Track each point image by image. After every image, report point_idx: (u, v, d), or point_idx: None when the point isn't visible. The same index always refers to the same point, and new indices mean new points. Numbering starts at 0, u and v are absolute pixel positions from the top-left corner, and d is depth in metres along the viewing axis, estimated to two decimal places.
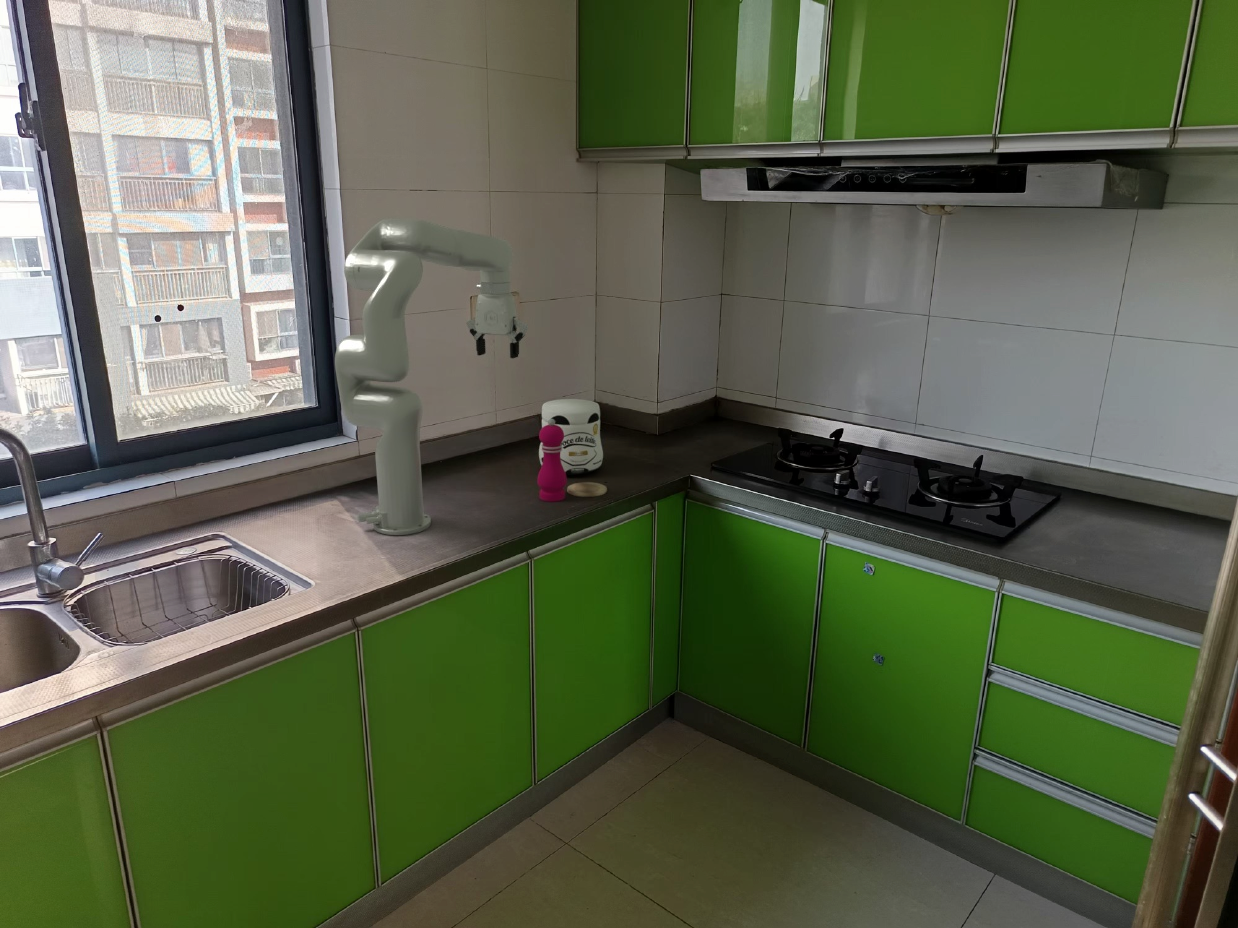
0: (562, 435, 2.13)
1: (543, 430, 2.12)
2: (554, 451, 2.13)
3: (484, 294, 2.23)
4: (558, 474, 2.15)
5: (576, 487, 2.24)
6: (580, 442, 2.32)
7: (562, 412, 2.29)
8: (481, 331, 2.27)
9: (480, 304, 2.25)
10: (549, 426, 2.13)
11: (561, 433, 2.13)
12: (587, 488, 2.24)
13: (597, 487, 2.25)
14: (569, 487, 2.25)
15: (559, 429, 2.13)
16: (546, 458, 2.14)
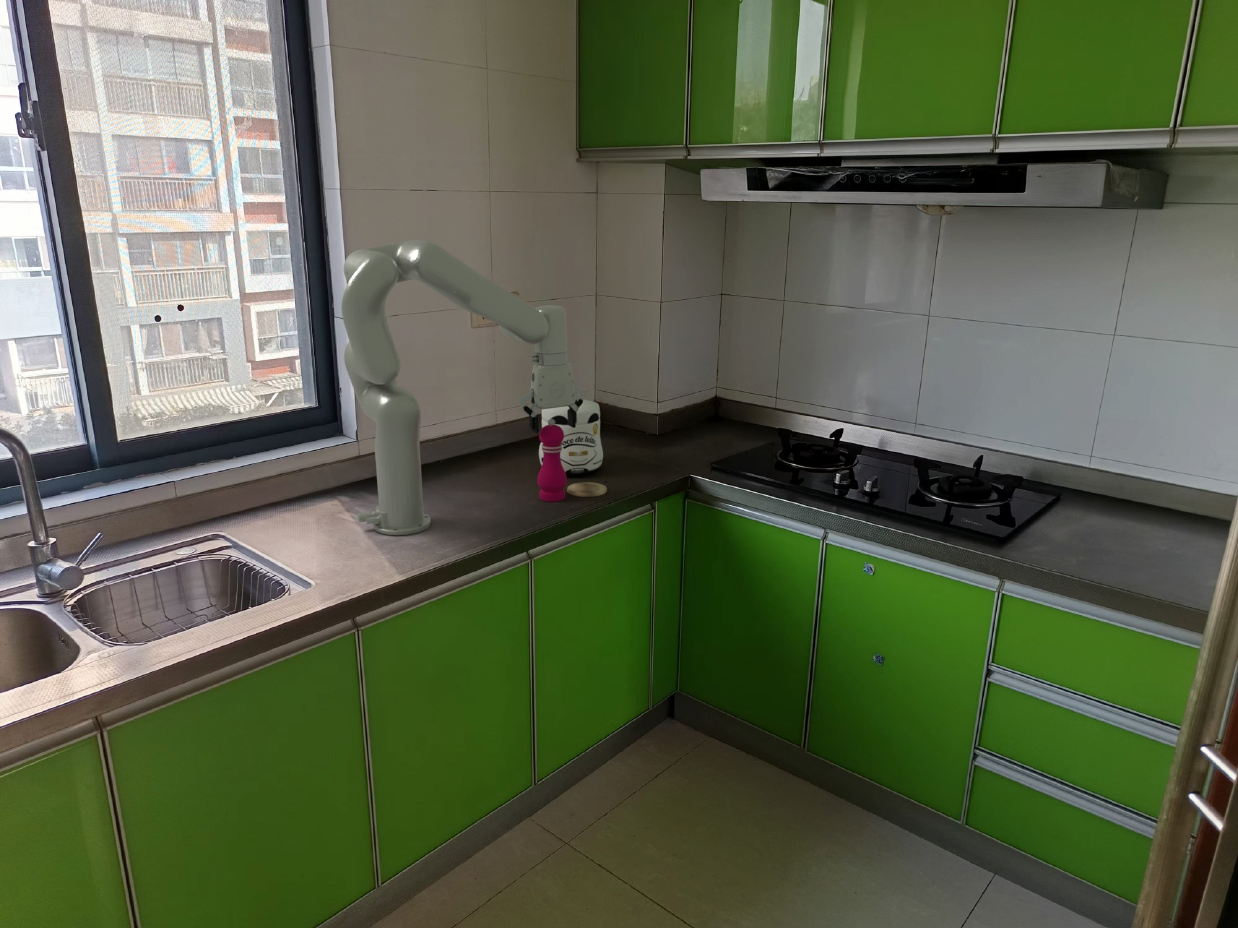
0: (562, 435, 2.13)
1: (543, 430, 2.12)
2: (554, 451, 2.13)
3: (552, 366, 2.06)
4: (558, 474, 2.15)
5: (576, 487, 2.24)
6: (580, 442, 2.32)
7: (562, 412, 2.29)
8: (546, 406, 2.08)
9: (544, 377, 2.06)
10: (549, 426, 2.13)
11: (561, 433, 2.13)
12: (587, 488, 2.24)
13: (597, 487, 2.25)
14: (569, 487, 2.25)
15: (559, 429, 2.13)
16: (546, 458, 2.14)
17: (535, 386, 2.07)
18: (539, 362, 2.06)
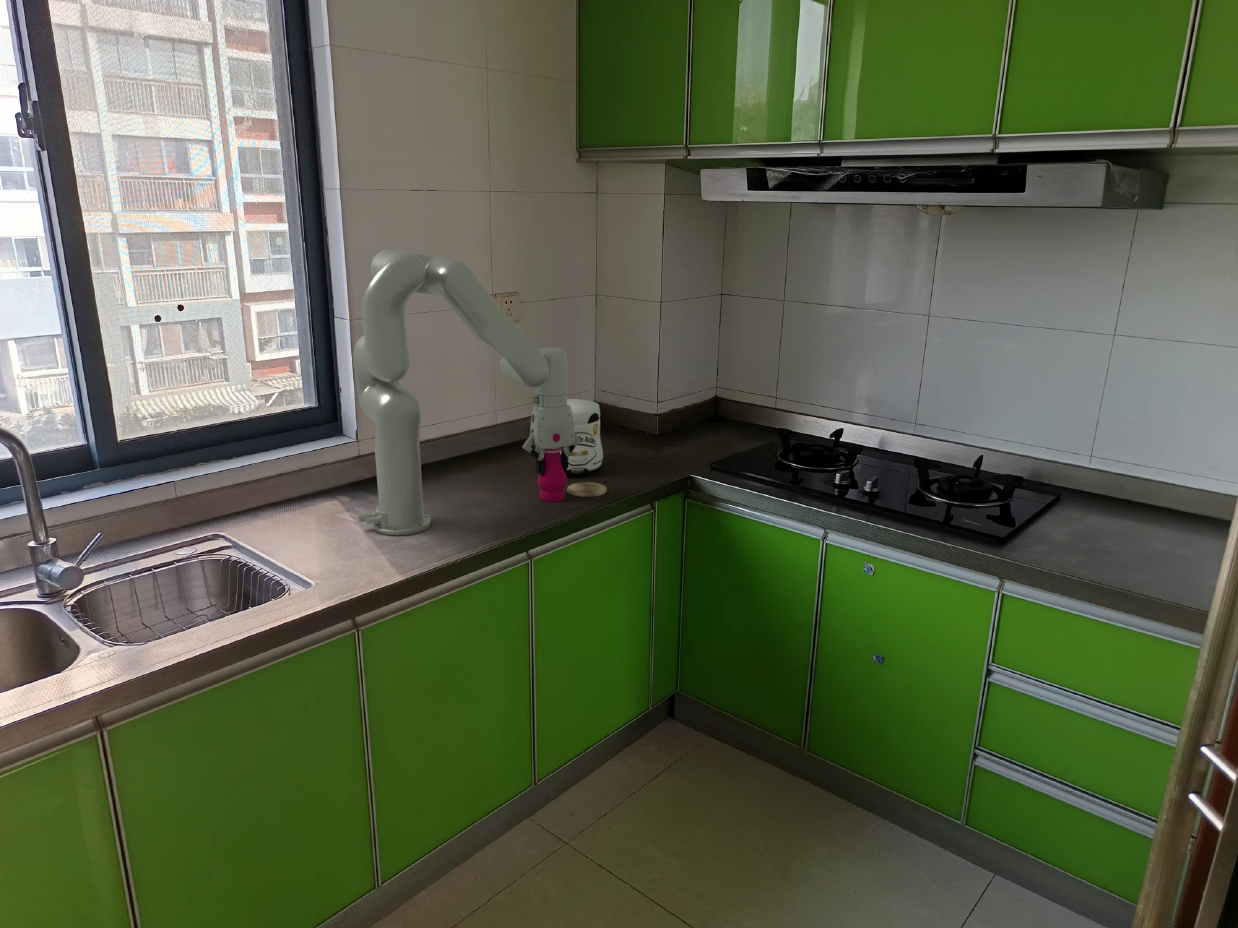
0: None
1: None
2: (554, 451, 2.13)
3: (552, 408, 2.09)
4: (558, 474, 2.15)
5: (576, 487, 2.24)
6: (580, 442, 2.32)
7: None
8: (545, 447, 2.11)
9: (544, 419, 2.09)
10: None
11: None
12: (587, 488, 2.24)
13: (597, 487, 2.25)
14: (569, 487, 2.25)
15: None
16: (547, 458, 2.14)
17: (535, 427, 2.10)
18: (539, 404, 2.09)
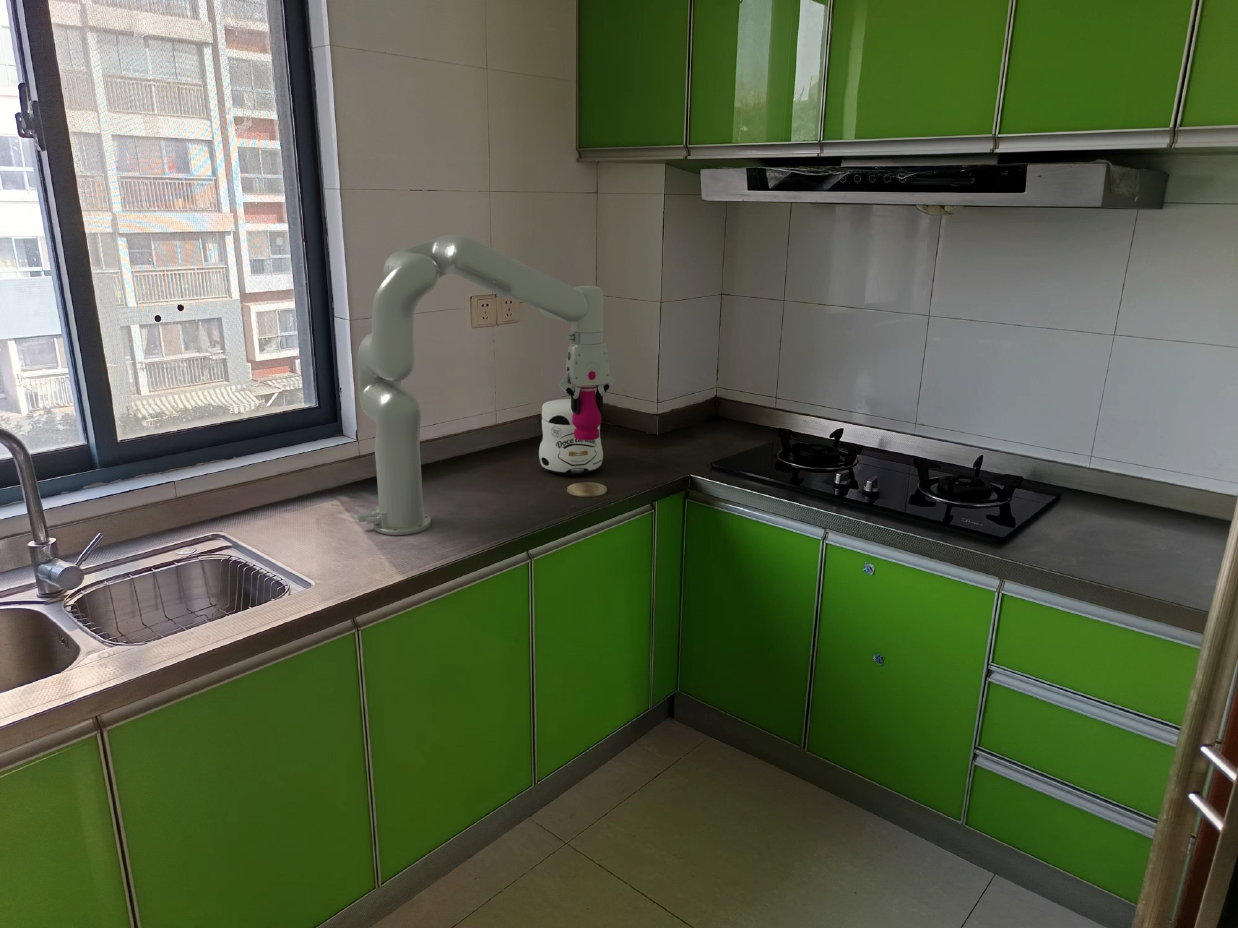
0: None
1: None
2: (589, 389, 2.14)
3: (588, 345, 2.10)
4: (593, 413, 2.16)
5: (576, 487, 2.24)
6: (580, 442, 2.32)
7: (562, 412, 2.29)
8: (581, 384, 2.12)
9: (580, 356, 2.11)
10: None
11: None
12: (587, 488, 2.24)
13: (597, 487, 2.25)
14: (569, 487, 2.25)
15: None
16: (582, 397, 2.16)
17: (571, 364, 2.11)
18: (575, 341, 2.10)
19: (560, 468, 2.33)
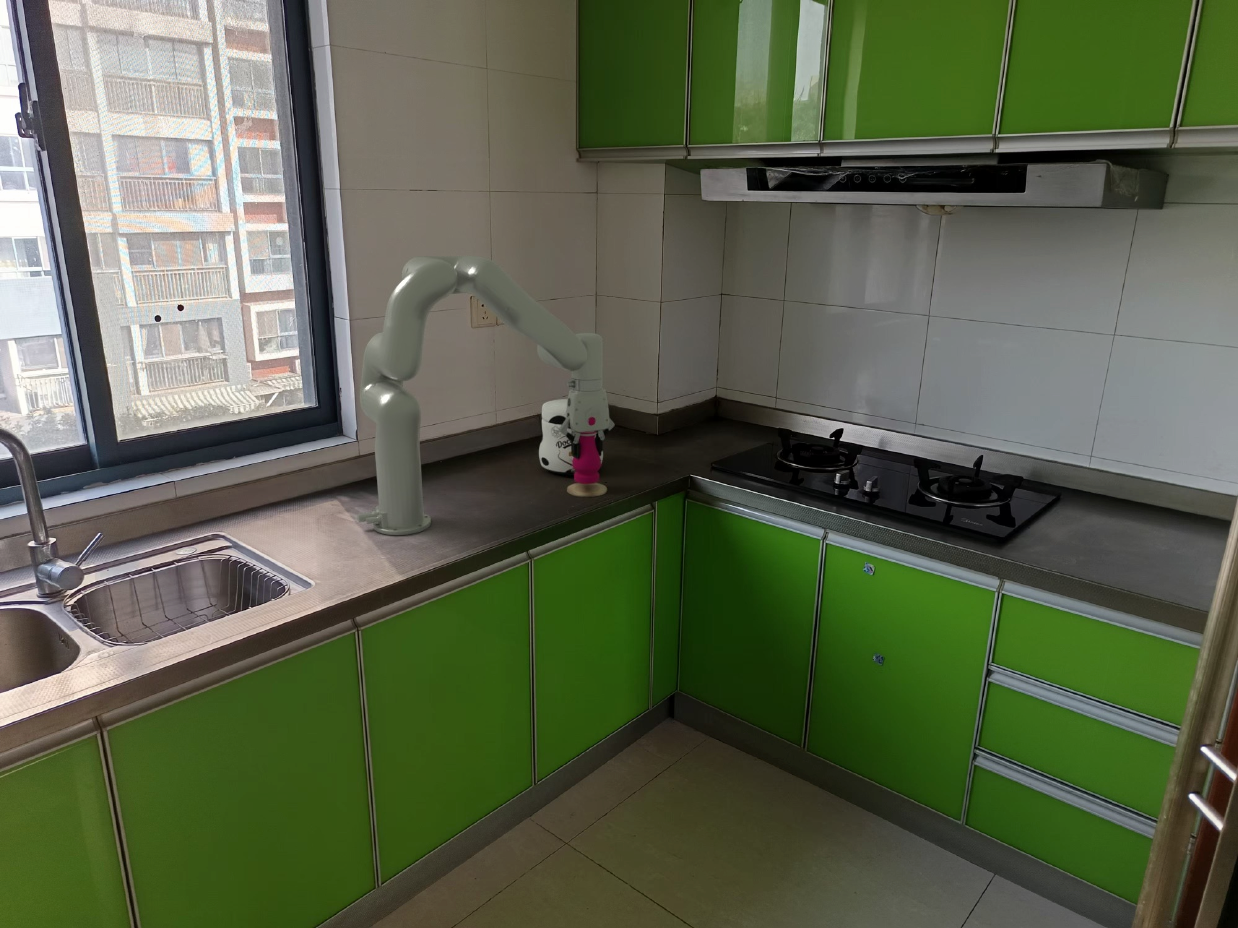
0: None
1: None
2: (589, 434, 2.18)
3: (588, 392, 2.13)
4: (593, 457, 2.19)
5: (576, 487, 2.24)
6: None
7: (562, 412, 2.29)
8: (581, 430, 2.16)
9: (580, 403, 2.14)
10: None
11: None
12: (587, 488, 2.24)
13: (597, 487, 2.25)
14: (569, 487, 2.25)
15: None
16: (582, 442, 2.19)
17: (571, 411, 2.14)
18: (575, 388, 2.14)
19: (560, 468, 2.33)
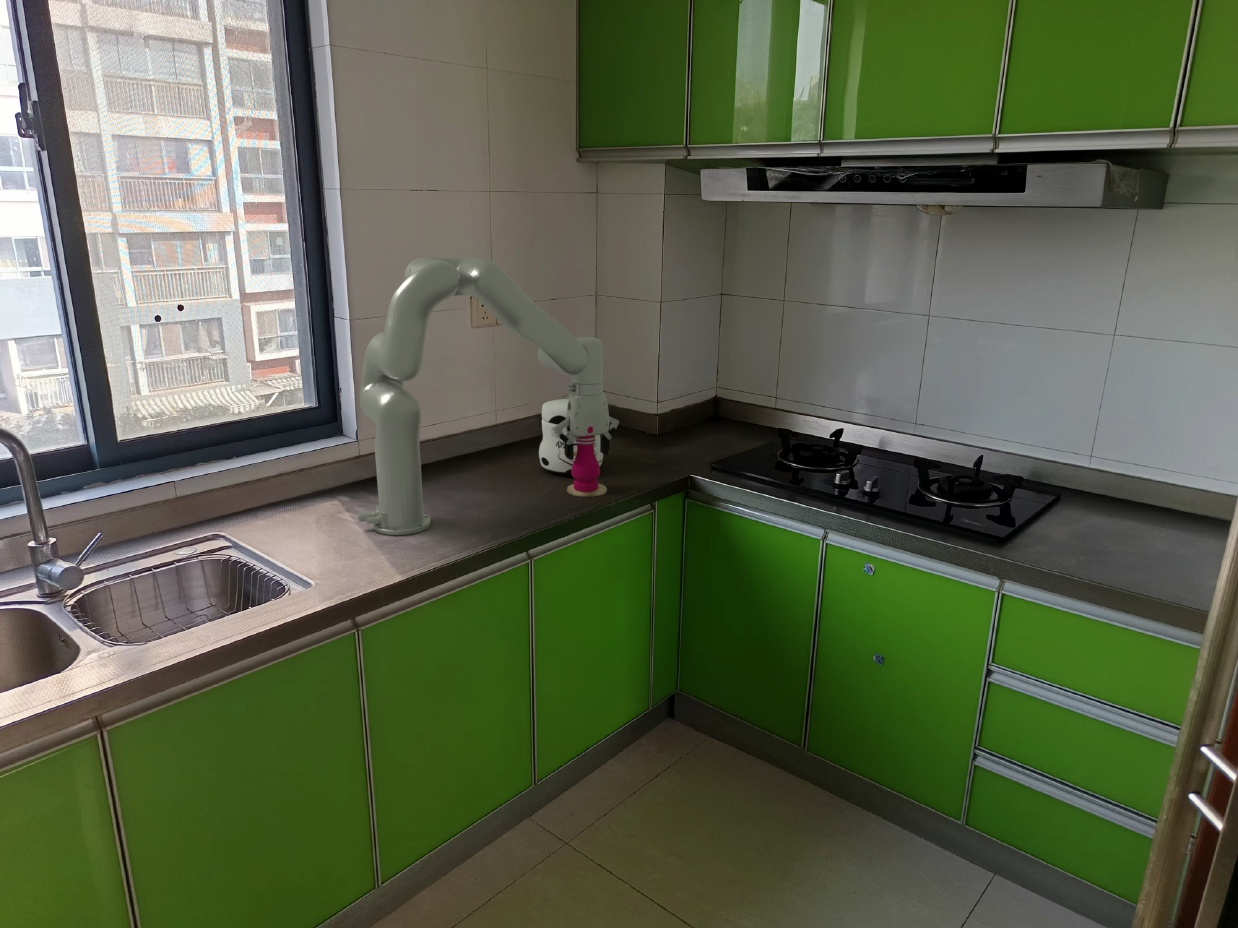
0: None
1: None
2: (588, 442, 2.18)
3: (588, 396, 2.13)
4: (592, 465, 2.20)
5: None
6: None
7: (562, 412, 2.29)
8: (581, 434, 2.16)
9: (580, 407, 2.14)
10: None
11: None
12: None
13: None
14: (569, 487, 2.25)
15: None
16: (580, 450, 2.19)
17: (571, 415, 2.15)
18: (576, 392, 2.14)
19: (560, 468, 2.33)
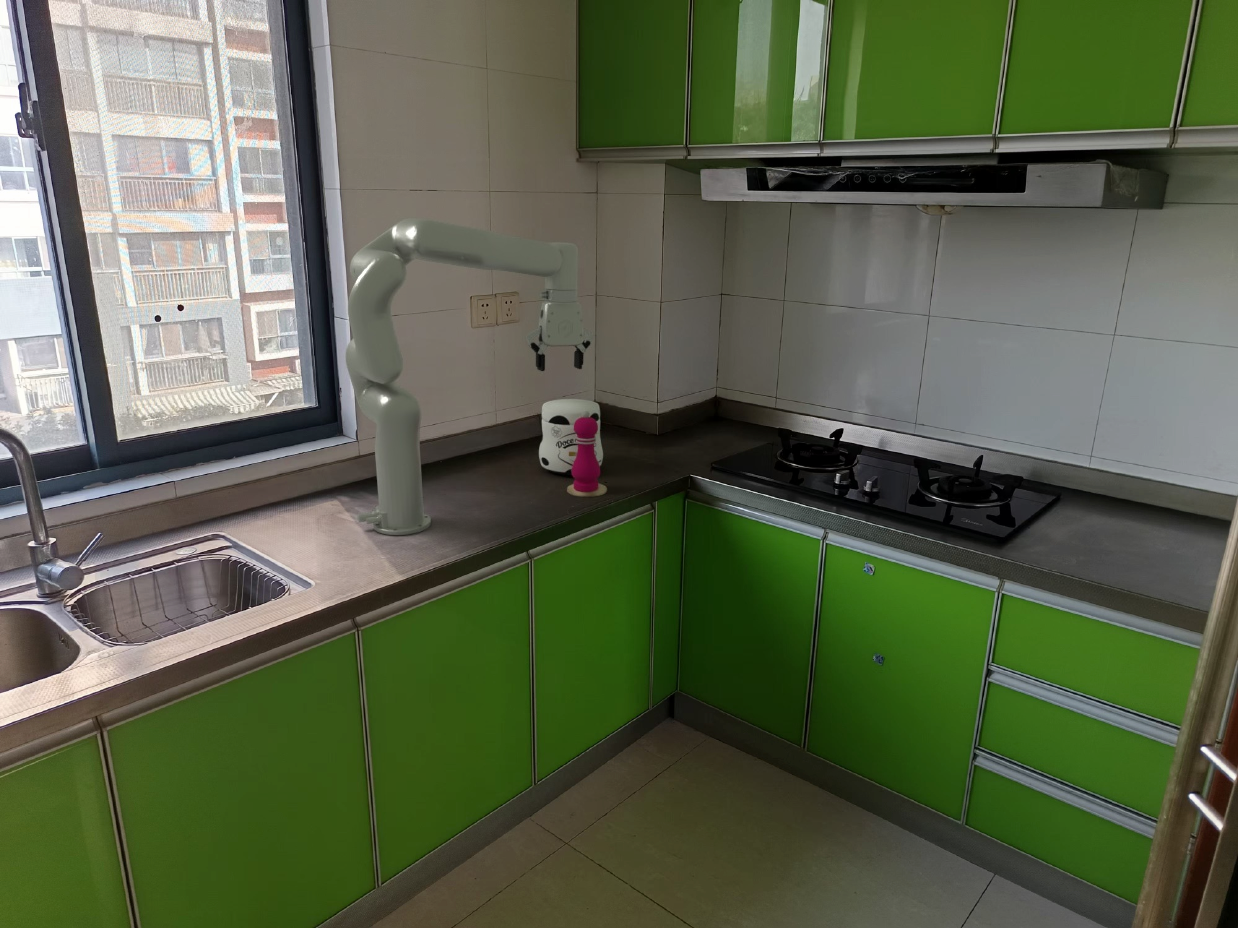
0: (596, 427, 2.18)
1: (578, 422, 2.17)
2: (588, 442, 2.18)
3: (561, 303, 2.04)
4: (592, 465, 2.20)
5: None
6: None
7: (562, 412, 2.29)
8: (553, 344, 2.07)
9: (553, 314, 2.05)
10: (583, 418, 2.18)
11: (595, 425, 2.18)
12: None
13: None
14: (569, 487, 2.25)
15: (593, 421, 2.18)
16: (581, 450, 2.19)
17: (543, 322, 2.06)
18: (548, 298, 2.05)
19: (560, 468, 2.33)
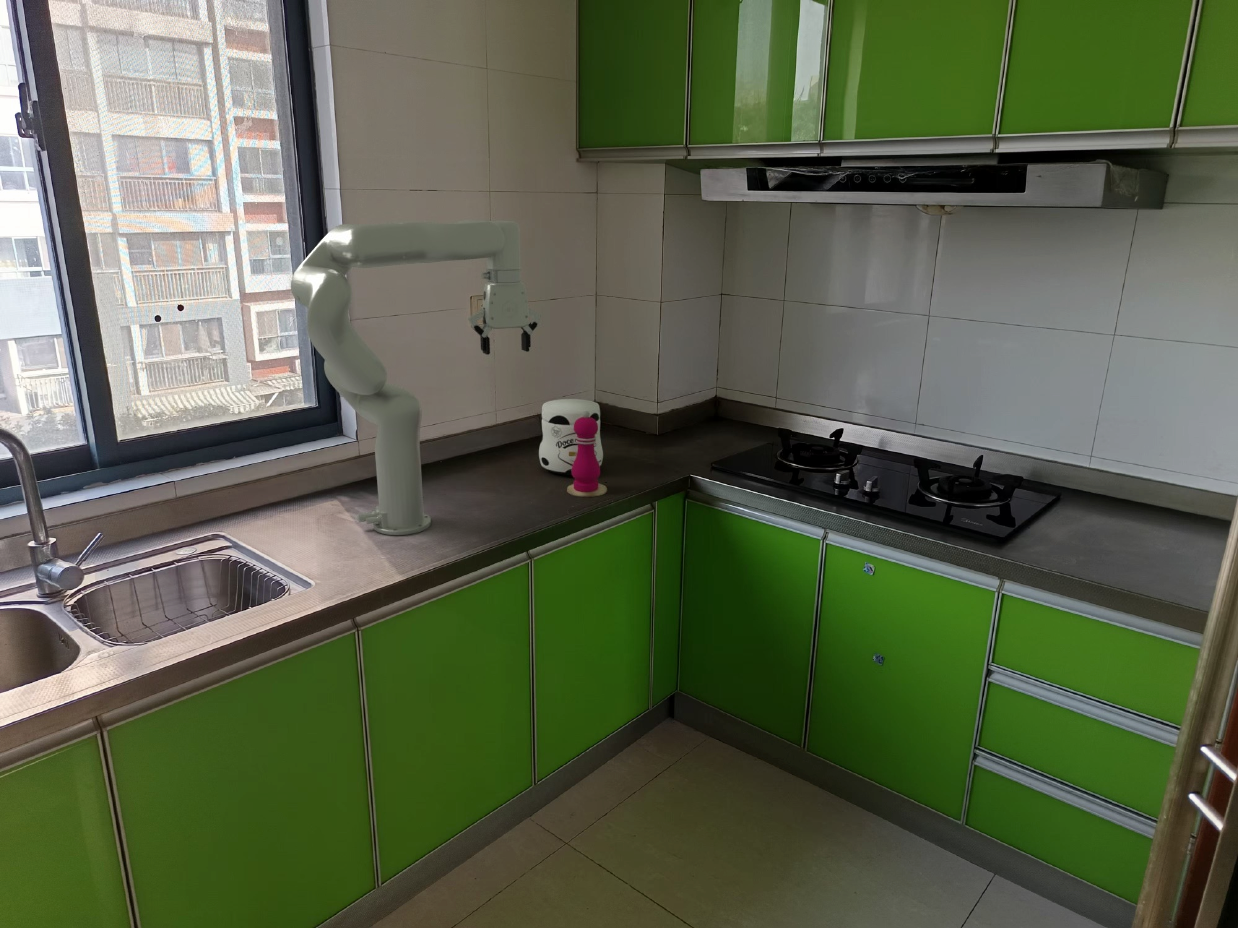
0: (596, 427, 2.18)
1: (578, 422, 2.17)
2: (588, 443, 2.18)
3: (504, 283, 1.98)
4: (592, 465, 2.20)
5: None
6: None
7: (562, 412, 2.29)
8: (497, 326, 2.01)
9: (495, 295, 1.99)
10: (583, 418, 2.18)
11: (595, 425, 2.18)
12: None
13: None
14: (569, 487, 2.25)
15: (593, 421, 2.18)
16: (581, 450, 2.19)
17: (486, 304, 1.99)
18: (491, 279, 1.99)
19: (560, 468, 2.33)
